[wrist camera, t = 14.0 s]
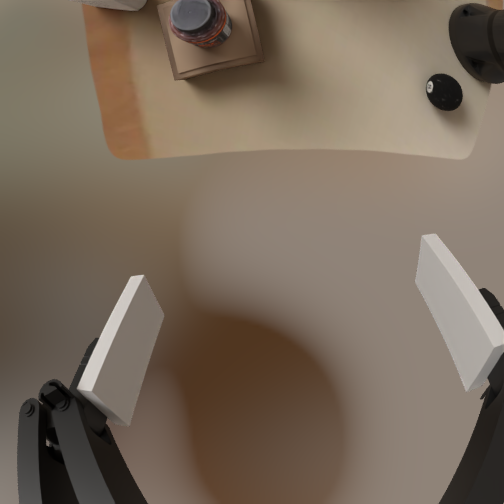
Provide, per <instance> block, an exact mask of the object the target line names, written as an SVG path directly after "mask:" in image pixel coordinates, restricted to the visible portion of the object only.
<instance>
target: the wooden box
mask: <svg viewBox="0 0 504 504" xmlns="http://www.w3.org/2000/svg"><path fill="white" fill-rule="evenodd" d="M177 1H178V0H172V1H169V2H166V3H163V4H160V5H157V8H158V13H159V17H160V22H161V26H162V30H163V34H164V39H165V43H166V47H167V51H168V55H169V60H170V64H171V68H172V72H173V76H174V80H184V79H188V78H192V77H195V76H199V75H203V74H207V73H211V72H215V71H219V70H224V69H228V68H233V67H238V66H243V65H248V64H253V63H259V62H264V56H263V51H262V47H261V42H260V38H259V34H258V29H257V25H256V21H255V17H254V13H253V9H252V4H251V0H219V1H220V2H221V4H222V5H223V6H224V8H225V10H226V12H227V13H228V15H229V17H230V19H231V22H232V32H231V34H230V36H229V38H228V39H227V40H226V41H225V42H224V43H222V44H221V45H219V46H216V47H213V48H201V47H198V46H195V45H193V44H190V43H188V42H185V41H183V40H181V39H179V38H178V37H176V36H175V35H174V34H173V32H172V31H171V29H170V26H169V15H170V12H171V9H172V7H173V5H174V4H175V3H176V2H177Z"/></svg>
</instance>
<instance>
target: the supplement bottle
mask: <svg viewBox="0 0 504 504" xmlns="http://www.w3.org/2000/svg"><path fill="white" fill-rule="evenodd" d="M169 26H170V29H171V31H172V32H173V34H174V35H175V36H176V37H178V38H179V39H181V40H183V41H185V42H188V43H190V44H193V45H195V46H198V47H201V48H213V47H216V46H219V45H221V44H222V43H224V42H225V41H226V40H227V39H228V38H229V36H230V34H231V32H232V22H231V19H230V17H229V15H228V13H227V12H226V10H225V8H224V6H223V5H222V4H221V2H220V1H219V0H178V1H177V2H176V3H175V4H174V5H173V7H172V9H171V12H170V15H169Z"/></svg>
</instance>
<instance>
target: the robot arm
mask: <svg viewBox="0 0 504 504" xmlns="http://www.w3.org/2000/svg"><path fill="white" fill-rule="evenodd" d="M449 34H450V40H451V44H452V47H453V49H454V52H455V54H456V56H457V58H458V59H459V61H460V63H461V64H462V65H463V67H464V68H465V69H466V70H467V71H468V72H469V73H470V74H471V75H472V76H473V77H475V78H476V79H478V80H480V81H483V82H488V83H495V84H498V83H502V82H504V10H496V9H493V8H490V7H487V6H484V5H481V4H477V3H469V4H464V5H460V6H458V7H457V8H456V9H455V10H454V11H453V13H452V15H451V17H450V21H449ZM415 283H416V285H417V287H418V289H419V290H420V292H421V294H422V296H423V298H424V300H425V302H426V304H427V306H428V307H429V309H430V311H431V313H432V315H433V317H434V319H435V321H436V323H437V326H438V328H439V330H440V332H441V334H442V336H443V338H444V340H445V343H446V345H447V347H448V349H449V351H450V353H451V356H452V358H453V361H454V363H455V365H456V368H457V370H458V372H459V375H460V377H461V380H462V382H463V385H464V387H465V390H466V392H468V391H471V390H473V389H476V388H478V387H481V386H482V385H483V383H484V382H485V381H486V379H487V378H488V380H489V383H490V385H489V387H488V388H487V389H486V391H485V392H484V393H483V395H482V396H481V398H480V399H483V398H484V397H485V399H484V402H483V405H482V408H481V411H480V414H479V417H478V420H477V423H476V426H475V428H474V431H473V434H472V436H471V439H470V441H469V444H468V446H467V448H466V451H465V453H464V456H463V458H462V460H461V462H460V464H459V466H458V468H457V470H456V473H455V474H454V476H453V478H452V481H451V482H450V485H449V486H448V488H447V490H446V492H445V494H444V495H443V497H442V499H441V501H440V502H439V504H503V503H504V310H503V308H502V306H500V303H499V302H498V301H497V299H496V298H495V296H494V295H493V294H492V293H491V292H489V291H488V290H487V289H485V288H482V289H479V290H478V289H477V288H476V286H475V285H474V283H473V282H472V280H471V279H470V278H469V276H468V275H467V273H466V272H465V271H464V269H463V268H462V267H461V265H460V264H459V263H458V261H457V260H456V259H455V257H454V256H453V255H452V254H451V252H450V251H449V250H448V248H447V247H446V246H445V245H444V243H443V242H442V241H441V240H440V239H439V237H438V236H437V235H436V234H428V235H422V238H421V246H420V253H419V261H418V267H417V274H416V280H415ZM163 318H164V313H163V312H162V309H161V308H160V306H159V304H158V302H157V300H156V298H155V296H154V294H153V292H152V290H151V288H150V286H149V284H148V282H147V280H146V278H145V275H138V276H132V277H131V278H130V280H129V281H128V283H127V285H126V287H125V289H124V291H123V293H122V294H121V296H120V298H119V300H118V302H117V304H116V306H115V308H114V310H113V312H112V314H111V316H110V318H109V320H108V322H107V324H106V326H105V328H104V330H103V332H102V334H101V336H100V338H95V340H94V341H93V342H92V343H91V344H90V345H89V346H88V348H87V350H86V353H85V355H84V357H83V359H82V361H81V365H79V368H78V370H77V372H76V374H75V376H74V379H73V381H72V383H71V385H70V388H69V390H68V389H67V388H66V387H65V386H64V385H63V384H62V383H61V382H60V381H58V380H55V379H53V380H50V381H48V382H47V383H45V384H44V385H43V387H42V388H41V390H40V393H39V400H40V401H41V402H42V403H43V404H41V403H40V402H39V401H38V400H36V399H34V398H30V399H28V400H26V401H25V402H24V403H23V405H22V406H21V409H20V413H19V426H18V448H17V449H18V451H17V454H18V455H17V465H18V466H17V469H18V470H17V471H18V491H19V504H148V503H147V501H146V500H145V498H144V496H143V495H142V493H141V491H140V489H139V488H138V486H137V484H136V482H135V480H134V479H133V477H132V475H131V473H130V471H129V469H128V467H127V465H126V463H125V461H124V459H123V457H122V455H121V453H120V451H119V448H118V447H117V444H116V443H115V440H114V438H113V435H112V433H111V431H110V428H109V427H108V425H107V424H106V420H107V418H108V419H109V420H111V421H112V422H113V423H114V424H118V425H124V426H130V422H131V419H132V416H133V412H134V409H135V405H136V402H137V398H138V395H139V392H140V388H141V385H142V381H143V379H144V375H145V372H146V369H147V366H148V363H149V360H150V357H151V353H152V350H153V347H154V344H155V341H156V338H157V335H158V332H159V329H160V327H161V324H162V321H163ZM485 395H486V396H485ZM46 440H48V441H49V442H50V444H49V447H48V446H46Z"/></svg>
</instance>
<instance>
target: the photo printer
mask: <svg viewBox="0 0 504 504" xmlns="http://www.w3.org/2000/svg"><path fill="white" fill-rule="evenodd" d="M70 1H75V2H80V3H84V4H88V5H92V6H95V7H102V8H110V9H119V10H129V11H138V10H139V9H141V8H142V7H143V6H144V5H145V4H146V2H147V0H70Z"/></svg>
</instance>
